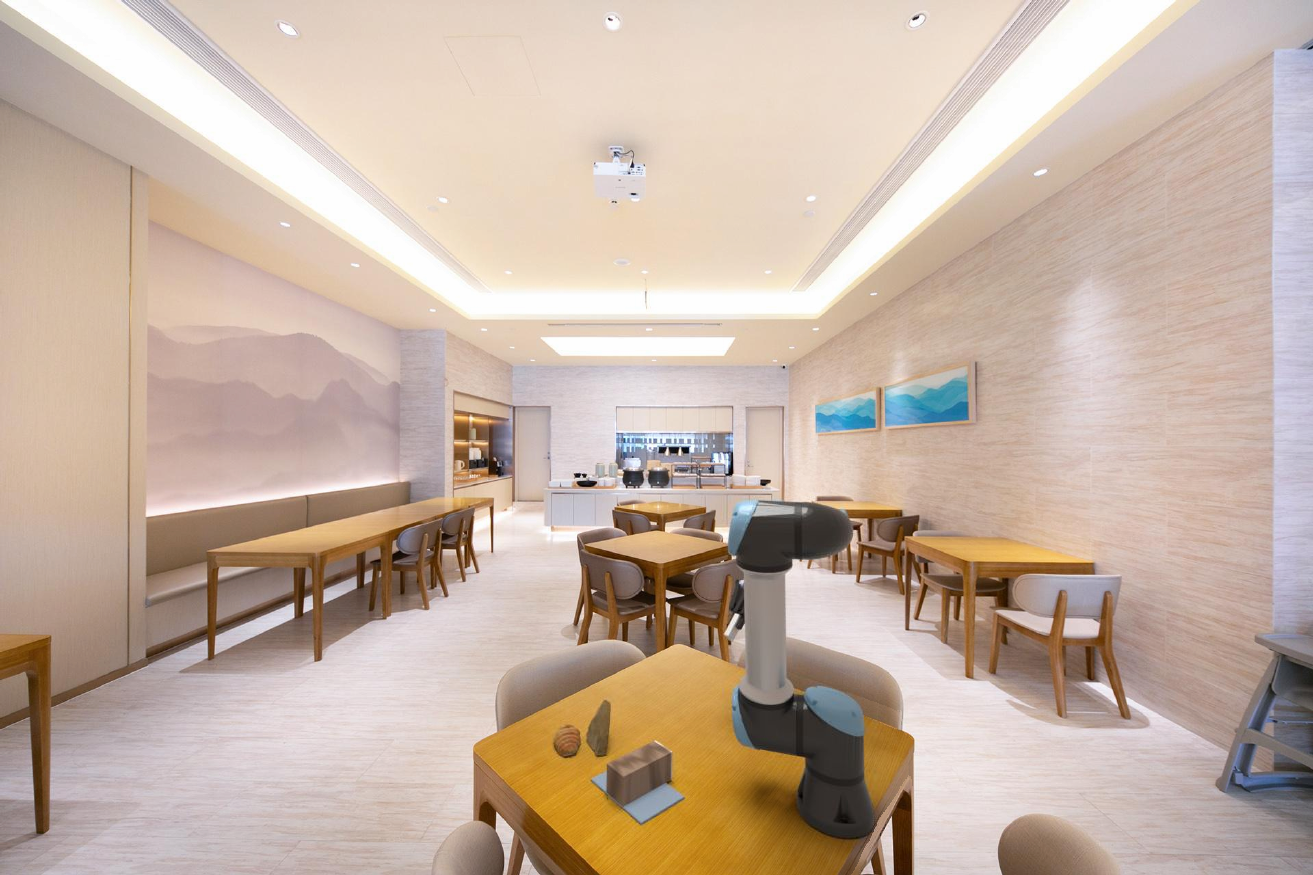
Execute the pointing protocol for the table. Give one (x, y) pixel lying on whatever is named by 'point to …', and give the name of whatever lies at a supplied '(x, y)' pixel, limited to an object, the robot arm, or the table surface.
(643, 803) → the mat
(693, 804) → the table surface
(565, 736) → the pastry
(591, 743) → the rock
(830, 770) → the robot arm
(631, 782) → the walnut block
